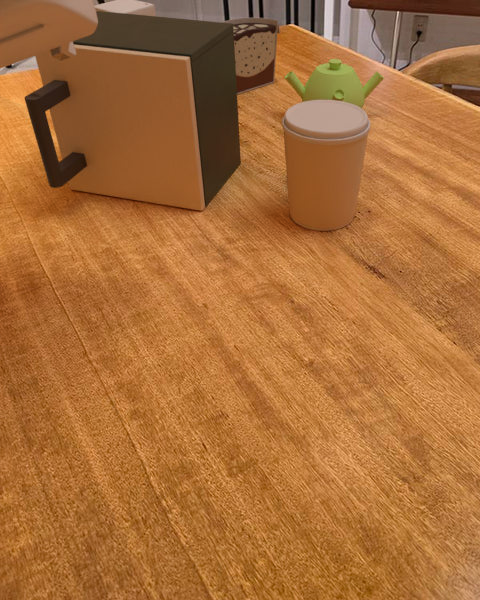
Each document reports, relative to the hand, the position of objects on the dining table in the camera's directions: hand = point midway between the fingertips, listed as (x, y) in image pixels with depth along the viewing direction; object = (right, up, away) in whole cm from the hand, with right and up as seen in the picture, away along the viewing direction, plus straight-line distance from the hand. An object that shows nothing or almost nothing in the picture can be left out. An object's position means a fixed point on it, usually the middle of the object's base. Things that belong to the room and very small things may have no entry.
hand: (18, 67), depth 51 cm
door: (+4, -10, +18) cm, 21 cm away
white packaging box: (-4, +17, +50) cm, 53 cm away
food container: (+15, +17, +51) cm, 56 cm away
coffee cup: (+27, -10, +18) cm, 34 cm away
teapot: (+30, +8, +40) cm, 51 cm away
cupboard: (+6, -4, +25) cm, 26 cm away
